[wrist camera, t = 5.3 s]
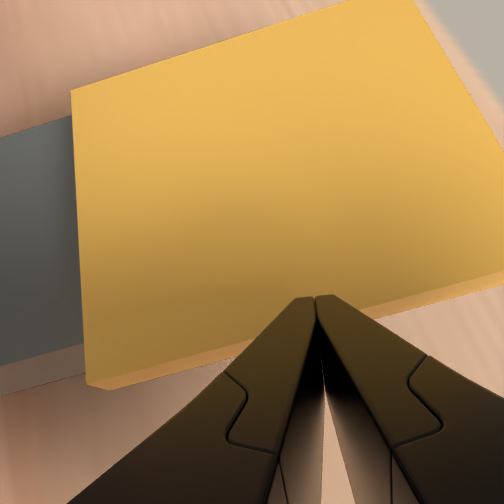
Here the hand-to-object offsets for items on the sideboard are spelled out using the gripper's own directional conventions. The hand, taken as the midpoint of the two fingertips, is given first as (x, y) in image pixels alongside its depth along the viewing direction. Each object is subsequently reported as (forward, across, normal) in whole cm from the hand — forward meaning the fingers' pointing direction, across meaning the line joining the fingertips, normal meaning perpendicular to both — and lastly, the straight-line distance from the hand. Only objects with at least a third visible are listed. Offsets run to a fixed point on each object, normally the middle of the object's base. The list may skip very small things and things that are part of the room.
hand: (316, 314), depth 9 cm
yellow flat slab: (+5, -1, +1) cm, 6 cm away
